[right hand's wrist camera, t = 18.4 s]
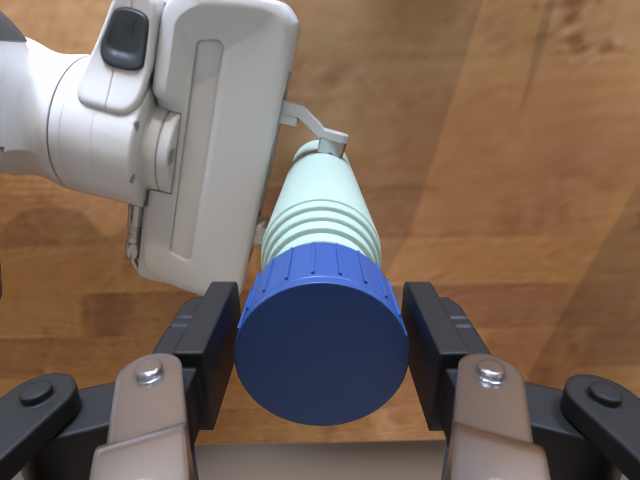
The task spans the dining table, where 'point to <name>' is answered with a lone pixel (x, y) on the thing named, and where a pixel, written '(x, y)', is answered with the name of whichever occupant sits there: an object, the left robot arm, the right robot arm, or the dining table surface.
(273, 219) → the bottle
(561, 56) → the dining table surface
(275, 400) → the cap
